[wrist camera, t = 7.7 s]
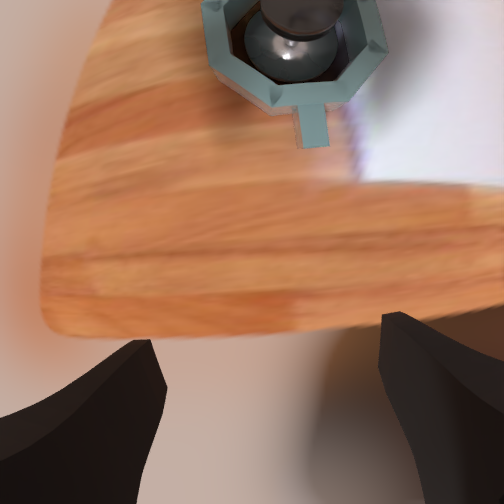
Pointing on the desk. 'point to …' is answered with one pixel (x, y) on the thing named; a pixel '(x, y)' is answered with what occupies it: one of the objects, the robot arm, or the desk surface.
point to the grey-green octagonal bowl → (303, 94)
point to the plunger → (293, 38)
